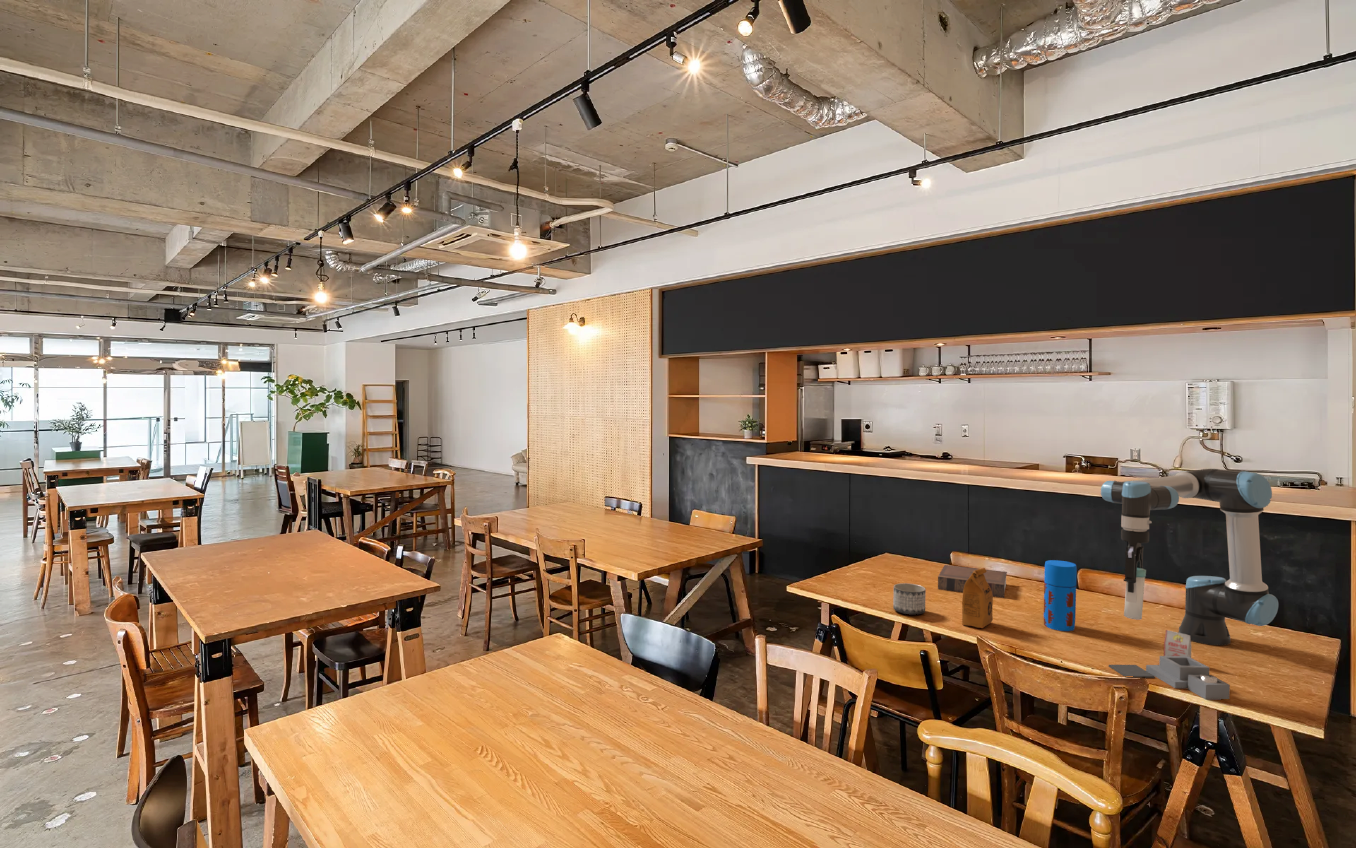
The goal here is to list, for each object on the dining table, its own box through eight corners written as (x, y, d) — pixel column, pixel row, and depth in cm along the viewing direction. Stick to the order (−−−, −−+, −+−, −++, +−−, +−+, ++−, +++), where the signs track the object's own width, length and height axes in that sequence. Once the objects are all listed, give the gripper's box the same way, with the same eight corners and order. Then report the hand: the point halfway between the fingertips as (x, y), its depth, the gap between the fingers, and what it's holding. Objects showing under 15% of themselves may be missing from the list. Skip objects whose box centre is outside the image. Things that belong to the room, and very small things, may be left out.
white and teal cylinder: (1121, 616, 216) (1124, 568, 215) (1125, 613, 219) (1128, 565, 218) (1140, 621, 212) (1144, 572, 211) (1144, 617, 216) (1147, 569, 215)
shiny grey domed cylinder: (1196, 690, 202) (1196, 674, 202) (1209, 690, 202) (1210, 674, 202) (1206, 695, 198) (1207, 679, 198) (1220, 696, 198) (1220, 679, 198)
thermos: (1073, 624, 262) (1075, 561, 261) (1076, 633, 252) (1078, 568, 251) (1042, 620, 267) (1043, 559, 266) (1044, 628, 257) (1045, 565, 256)
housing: (1146, 671, 218) (1146, 653, 217) (1189, 671, 217) (1189, 653, 217) (1193, 699, 197) (1194, 679, 197) (1241, 699, 197) (1241, 680, 197)
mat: (1108, 666, 221) (1108, 664, 221) (1135, 666, 221) (1135, 664, 221) (1126, 677, 212) (1126, 676, 212) (1154, 678, 212) (1154, 676, 212)
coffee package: (997, 624, 262) (998, 569, 261) (983, 631, 254) (984, 575, 253) (972, 617, 270) (973, 564, 269) (957, 624, 262) (958, 569, 261)
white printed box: (1166, 657, 229) (1167, 628, 229) (1190, 663, 224) (1191, 634, 223) (1163, 660, 227) (1164, 631, 226) (1187, 666, 221) (1188, 636, 221)
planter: (892, 614, 274) (892, 589, 273) (894, 605, 286) (894, 582, 285) (924, 618, 269) (925, 593, 269) (925, 609, 281) (925, 585, 280)
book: (1004, 599, 297) (1004, 584, 296) (937, 590, 310) (938, 576, 310) (1006, 585, 318) (1007, 572, 318) (944, 577, 331) (944, 564, 331)
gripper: (1142, 534, 206) (1140, 608, 207) (1155, 527, 218) (1153, 596, 219) (1114, 531, 211) (1112, 603, 212) (1128, 524, 224) (1126, 592, 224)
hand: (1133, 600), depth 216 cm, fingers closed on white and teal cylinder, 5 cm apart
